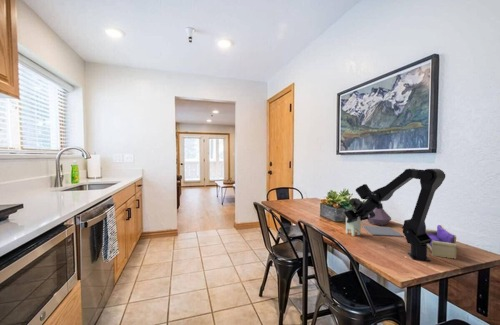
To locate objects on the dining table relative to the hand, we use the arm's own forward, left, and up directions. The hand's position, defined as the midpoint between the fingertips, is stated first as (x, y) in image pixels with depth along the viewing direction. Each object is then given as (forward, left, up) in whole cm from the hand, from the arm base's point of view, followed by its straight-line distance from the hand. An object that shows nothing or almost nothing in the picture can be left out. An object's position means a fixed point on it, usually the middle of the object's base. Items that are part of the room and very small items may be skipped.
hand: (350, 221), depth 129 cm
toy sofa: (-12, -36, -7) cm, 39 cm away
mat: (+9, -18, -7) cm, 21 cm away
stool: (-1, -1, -7) cm, 7 cm away
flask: (+28, -20, -7) cm, 35 cm away
